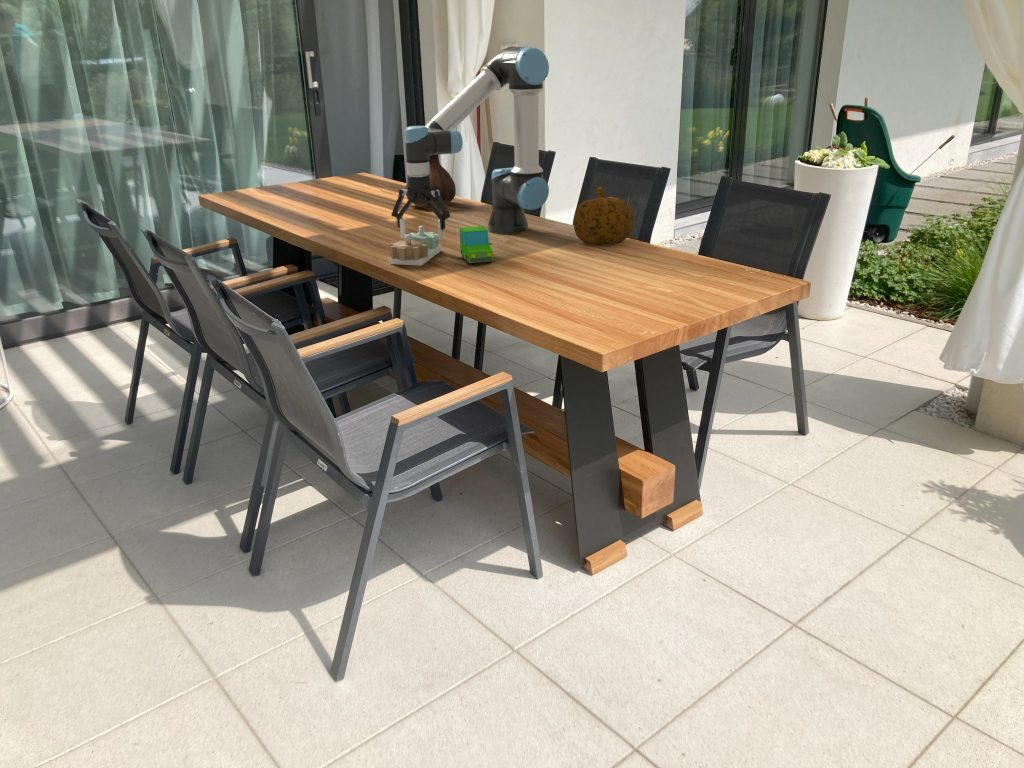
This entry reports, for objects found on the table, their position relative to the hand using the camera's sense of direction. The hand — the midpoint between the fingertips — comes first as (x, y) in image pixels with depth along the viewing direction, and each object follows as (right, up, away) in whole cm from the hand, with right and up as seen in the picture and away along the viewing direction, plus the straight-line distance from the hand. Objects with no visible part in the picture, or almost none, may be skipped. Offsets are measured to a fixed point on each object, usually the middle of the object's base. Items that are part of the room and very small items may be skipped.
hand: (421, 238), depth 285 cm
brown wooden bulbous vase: (-4, +27, +77) cm, 81 cm away
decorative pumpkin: (+63, 0, +12) cm, 64 cm away
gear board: (-2, -7, -5) cm, 9 cm away
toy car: (+19, -9, -9) cm, 23 cm away
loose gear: (0, -3, +1) cm, 3 cm away
